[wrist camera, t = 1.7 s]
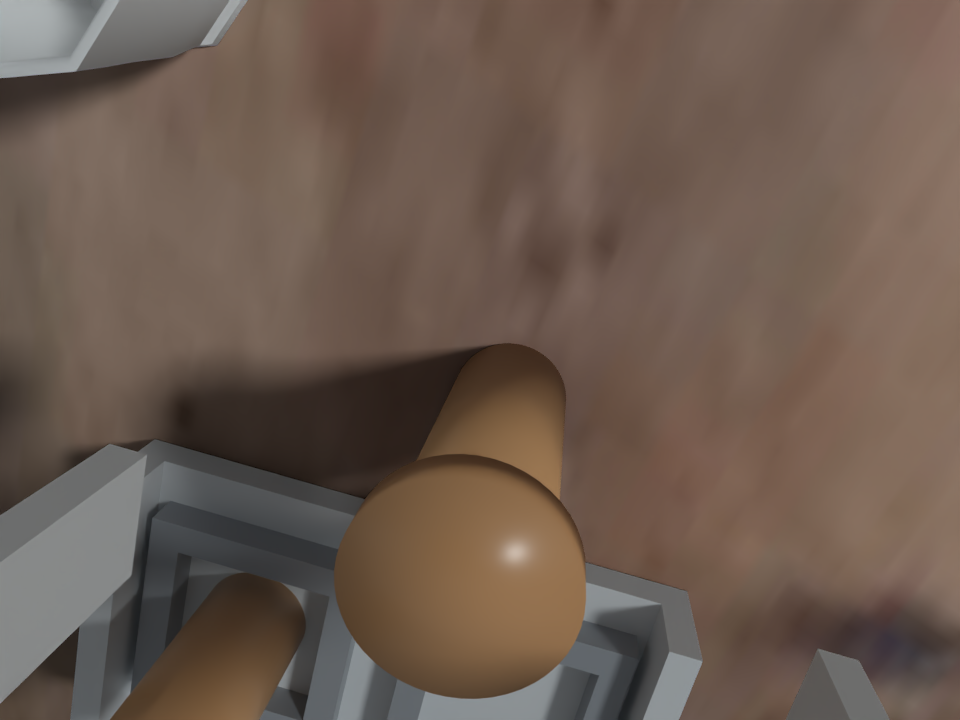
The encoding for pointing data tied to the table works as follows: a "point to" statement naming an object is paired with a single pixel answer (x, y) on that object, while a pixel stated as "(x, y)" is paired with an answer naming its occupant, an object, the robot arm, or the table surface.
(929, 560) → the table surface
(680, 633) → the tray
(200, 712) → the rounded wooden peg
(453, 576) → the tan ball-headed post
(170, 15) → the cup
